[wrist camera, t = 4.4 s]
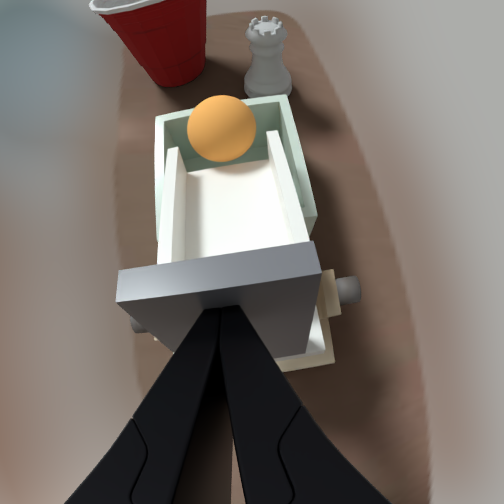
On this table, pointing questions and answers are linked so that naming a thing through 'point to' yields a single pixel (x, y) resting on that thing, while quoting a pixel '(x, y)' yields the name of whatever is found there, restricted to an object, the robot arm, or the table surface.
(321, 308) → the stand
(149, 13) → the plastic cup
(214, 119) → the ball
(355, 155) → the table surface
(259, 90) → the rook chess piece
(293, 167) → the pale green open box
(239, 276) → the chute
